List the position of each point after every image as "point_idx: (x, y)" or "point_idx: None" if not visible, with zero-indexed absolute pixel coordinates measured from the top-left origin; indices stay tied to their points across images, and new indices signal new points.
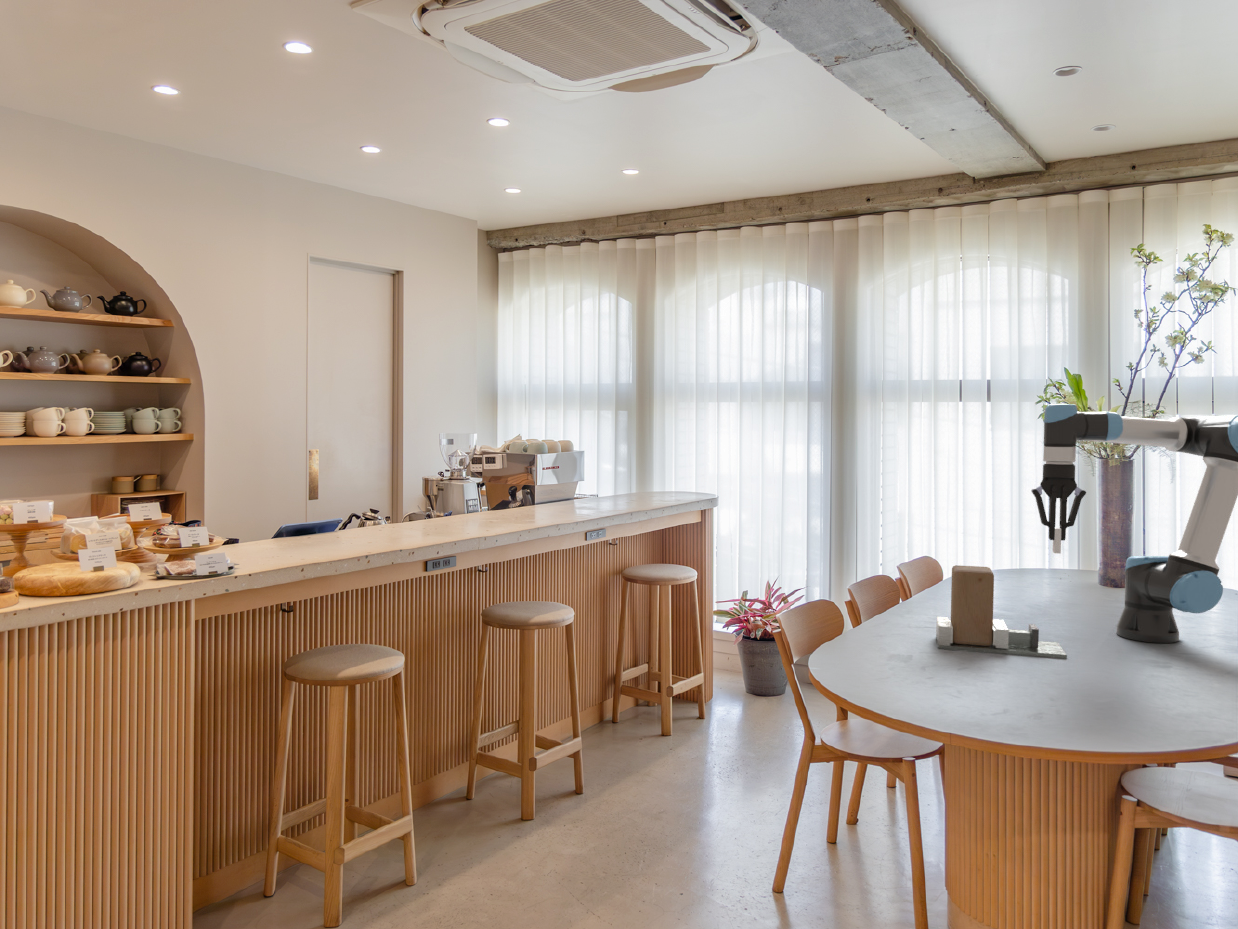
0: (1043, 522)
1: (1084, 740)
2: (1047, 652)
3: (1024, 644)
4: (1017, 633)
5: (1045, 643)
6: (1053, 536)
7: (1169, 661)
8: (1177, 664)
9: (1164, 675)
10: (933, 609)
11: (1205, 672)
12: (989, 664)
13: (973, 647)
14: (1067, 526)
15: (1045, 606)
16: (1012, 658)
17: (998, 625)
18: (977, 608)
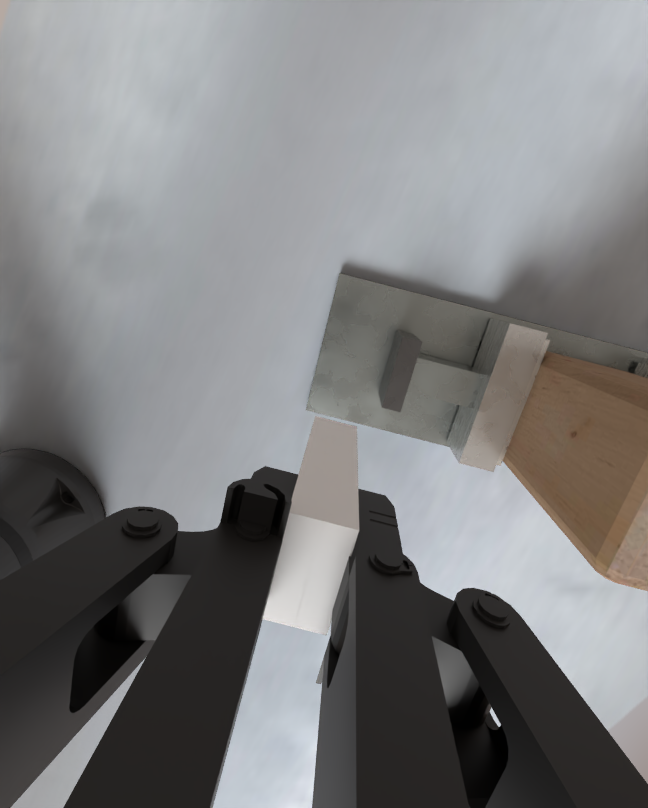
0: (516, 626)
1: None
2: (384, 296)
3: (426, 355)
4: (452, 366)
5: (345, 397)
6: (359, 507)
7: (71, 268)
8: (62, 238)
9: (140, 110)
10: None
11: (19, 157)
12: (602, 188)
13: (582, 339)
14: (197, 539)
15: None
16: (496, 265)
17: (513, 385)
18: (637, 379)
